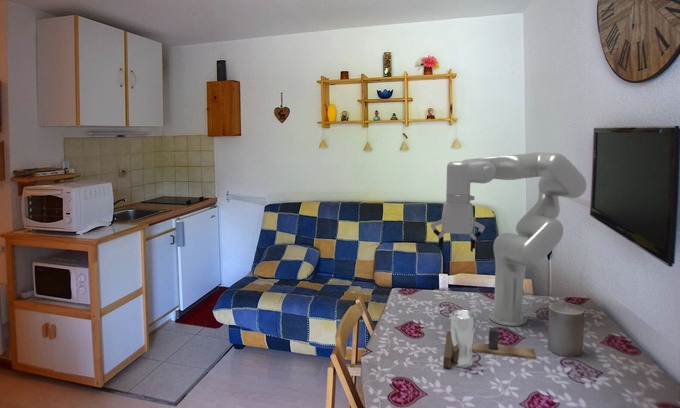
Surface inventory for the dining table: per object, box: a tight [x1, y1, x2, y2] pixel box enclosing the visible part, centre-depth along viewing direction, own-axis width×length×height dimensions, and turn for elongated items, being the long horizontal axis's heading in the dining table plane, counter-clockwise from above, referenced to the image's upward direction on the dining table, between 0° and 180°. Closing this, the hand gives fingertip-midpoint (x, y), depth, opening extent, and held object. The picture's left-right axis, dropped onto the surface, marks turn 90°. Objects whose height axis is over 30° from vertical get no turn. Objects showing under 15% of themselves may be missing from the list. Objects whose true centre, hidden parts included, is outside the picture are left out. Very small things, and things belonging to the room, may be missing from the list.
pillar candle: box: [547, 301, 585, 358], centre depth 134 cm, size 10×10×15 cm
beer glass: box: [450, 309, 477, 369], centre depth 127 cm, size 7×7×15 cm
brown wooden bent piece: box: [443, 327, 537, 369], centre depth 129 cm, size 26×18×7 cm
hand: (456, 249), depth 146 cm, fingers open, 9 cm apart
